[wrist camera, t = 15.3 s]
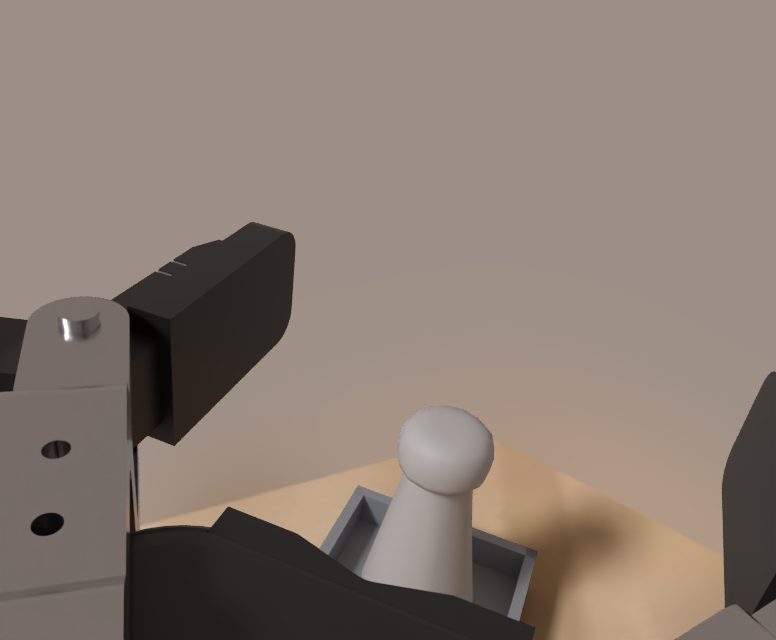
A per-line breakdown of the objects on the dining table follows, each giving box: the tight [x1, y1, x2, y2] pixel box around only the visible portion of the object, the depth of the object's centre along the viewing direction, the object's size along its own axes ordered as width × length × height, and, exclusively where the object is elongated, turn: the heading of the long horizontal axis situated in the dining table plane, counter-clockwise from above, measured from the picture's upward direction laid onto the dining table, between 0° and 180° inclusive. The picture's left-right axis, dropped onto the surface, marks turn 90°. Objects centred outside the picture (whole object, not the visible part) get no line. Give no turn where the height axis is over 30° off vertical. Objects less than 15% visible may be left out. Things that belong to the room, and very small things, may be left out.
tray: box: [320, 486, 537, 621], centre depth 39 cm, size 11×11×3 cm
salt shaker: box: [362, 406, 494, 603], centre depth 36 cm, size 6×6×13 cm
